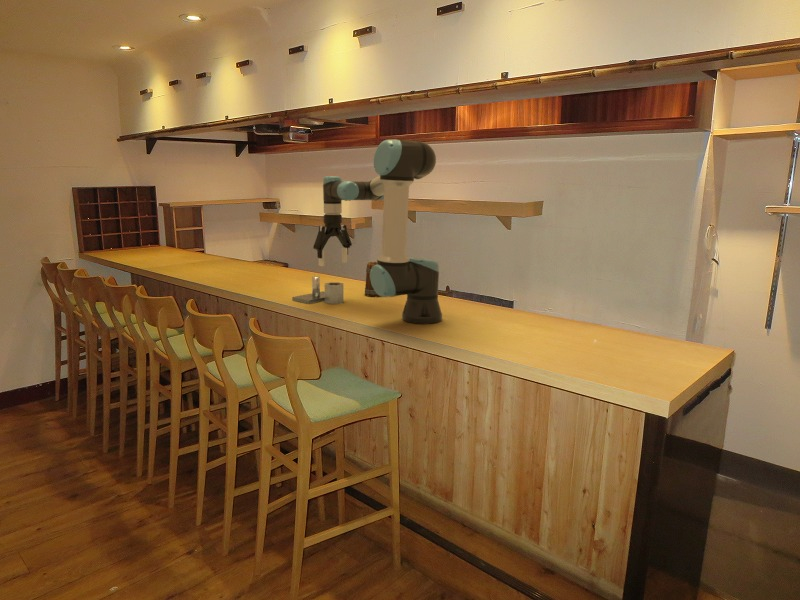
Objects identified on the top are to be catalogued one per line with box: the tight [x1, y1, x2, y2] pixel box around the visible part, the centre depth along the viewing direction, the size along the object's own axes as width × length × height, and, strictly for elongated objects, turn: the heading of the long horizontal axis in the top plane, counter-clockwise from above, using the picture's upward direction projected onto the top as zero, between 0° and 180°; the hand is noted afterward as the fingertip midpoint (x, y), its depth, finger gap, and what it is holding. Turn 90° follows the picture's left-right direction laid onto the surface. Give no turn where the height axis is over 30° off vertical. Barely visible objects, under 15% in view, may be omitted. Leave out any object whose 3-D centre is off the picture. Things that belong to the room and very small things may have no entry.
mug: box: [364, 261, 382, 298], centre depth 245 cm, size 16×11×15 cm
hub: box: [324, 281, 345, 305], centre depth 230 cm, size 8×8×8 cm
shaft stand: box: [291, 275, 325, 305], centre depth 236 cm, size 11×18×10 cm, turn 141°
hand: (333, 264), depth 227 cm, fingers open, 13 cm apart
